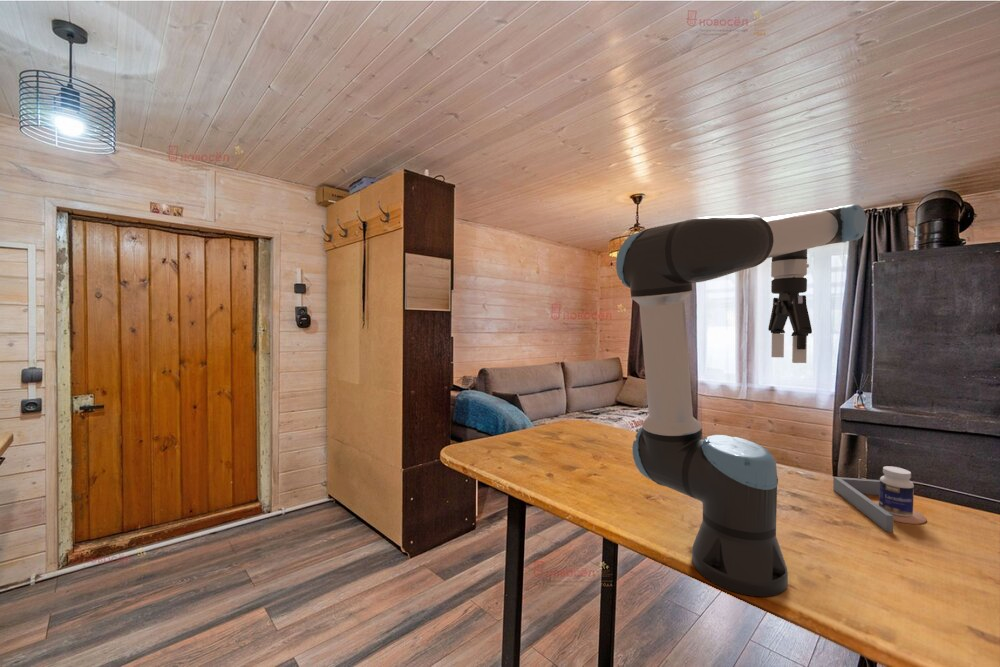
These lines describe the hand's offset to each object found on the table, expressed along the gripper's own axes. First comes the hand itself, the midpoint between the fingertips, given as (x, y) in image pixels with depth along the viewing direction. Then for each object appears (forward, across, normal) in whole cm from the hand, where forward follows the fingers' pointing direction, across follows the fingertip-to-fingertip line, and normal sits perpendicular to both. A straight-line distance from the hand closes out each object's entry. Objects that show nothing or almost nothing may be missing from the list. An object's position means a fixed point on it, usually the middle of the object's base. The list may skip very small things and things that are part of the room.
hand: (787, 360), depth 107 cm
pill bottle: (+34, -8, -19) cm, 40 cm away
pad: (+35, -8, -19) cm, 41 cm away
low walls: (+35, -7, -17) cm, 39 cm away
